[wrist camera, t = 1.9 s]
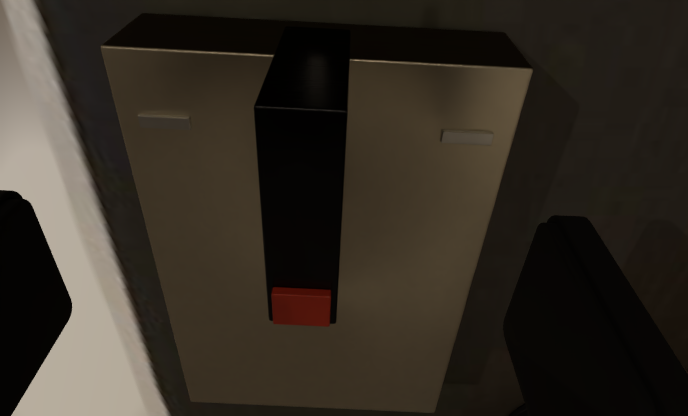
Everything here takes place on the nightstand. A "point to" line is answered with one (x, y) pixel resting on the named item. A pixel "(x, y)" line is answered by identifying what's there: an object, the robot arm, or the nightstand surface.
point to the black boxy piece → (303, 172)
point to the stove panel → (358, 203)
